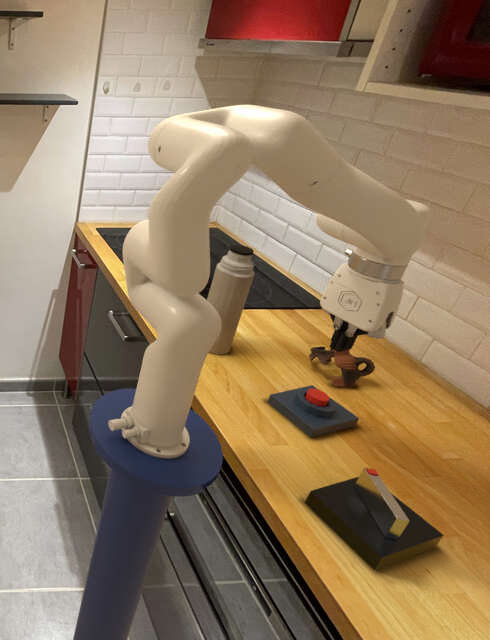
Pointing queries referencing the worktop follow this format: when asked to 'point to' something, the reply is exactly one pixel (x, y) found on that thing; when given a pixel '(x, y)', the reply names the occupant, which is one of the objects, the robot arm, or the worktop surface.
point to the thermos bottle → (230, 293)
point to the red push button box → (312, 412)
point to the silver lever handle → (381, 504)
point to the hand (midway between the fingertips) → (339, 348)
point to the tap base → (370, 525)
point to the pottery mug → (343, 365)
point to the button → (317, 397)
